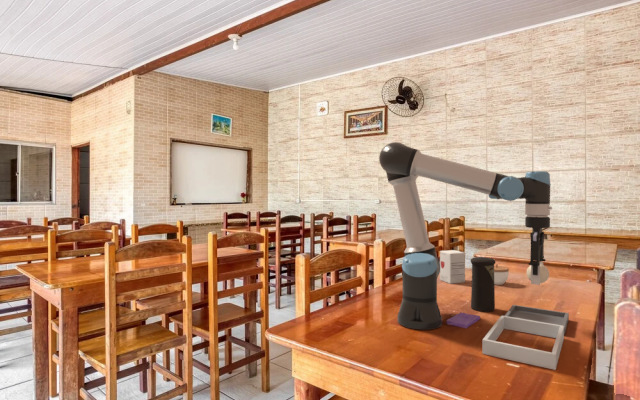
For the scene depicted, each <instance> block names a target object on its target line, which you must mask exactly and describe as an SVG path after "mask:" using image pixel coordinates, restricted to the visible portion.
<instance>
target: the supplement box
mask: <svg viewBox="0 0 640 400" xmlns="http://www.w3.org/2000/svg"><path fill="white" fill-rule="evenodd" d="M439 262H440V273H439V281H441V282H445V283H448V284H450V285H453V284H461V283H465V282H466V252H464V251H459V250H456V249H455V250H454V249H449V250H439Z"/></svg>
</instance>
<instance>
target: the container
mask: <svg viewBox="0 0 640 400" xmlns="http://www.w3.org/2000/svg"><path fill="white" fill-rule="evenodd" d="M470 263H471V297H470V308H471V309H472V310H474V311H478V312H485V313H487V312H488V313H489V312H494V311H495V307H496V299H495V298H496V297H495V296H496V295H495V294H496V293H495V285H494V266H496V260H495V259H494V258H491V257H486V256H483V257H482V256H477V257H471V259H470Z"/></svg>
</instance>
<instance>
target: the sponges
mask: <svg viewBox="0 0 640 400" xmlns="http://www.w3.org/2000/svg"><path fill="white" fill-rule="evenodd" d="M480 319H481V316H480V315H476V314H470V313H465V312H459V313H457V314H455V315H454V316H452V317H450V318H448V319H447V320H446V325H450V326H455V327H458V328H463V329H468V328H469V327H470V326H472V325H473V324H475V323H476V322H478V321H479V320H480Z"/></svg>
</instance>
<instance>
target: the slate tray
mask: <svg viewBox="0 0 640 400" xmlns="http://www.w3.org/2000/svg"><path fill="white" fill-rule="evenodd" d="M504 316H508V317H514V318H520V319H526V320H532V321H538V322H544V323H550V324H556V325H562V326H564V337H565V336H566V331H567V327H568V324H569V316H570V314H569V312H563V311H559V310H558V311H557V310H553V309H552V310H551V309H544V308H538V307H531V306H525V305H519V304H518V305H517V304H512V306H510V308H509V309H508V310H507V312H505V315H504Z"/></svg>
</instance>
